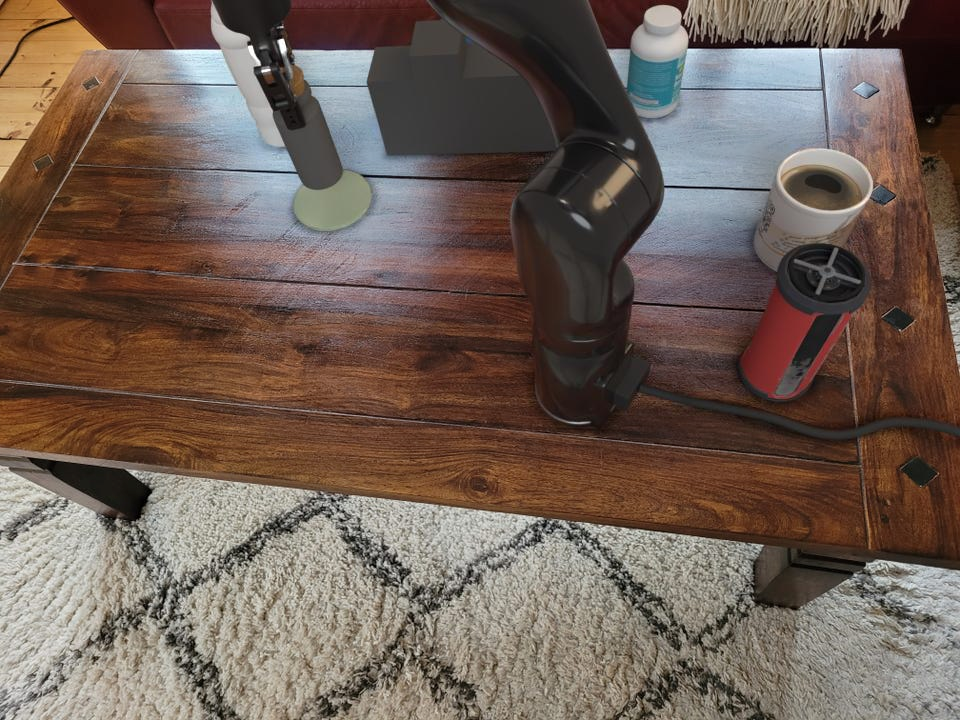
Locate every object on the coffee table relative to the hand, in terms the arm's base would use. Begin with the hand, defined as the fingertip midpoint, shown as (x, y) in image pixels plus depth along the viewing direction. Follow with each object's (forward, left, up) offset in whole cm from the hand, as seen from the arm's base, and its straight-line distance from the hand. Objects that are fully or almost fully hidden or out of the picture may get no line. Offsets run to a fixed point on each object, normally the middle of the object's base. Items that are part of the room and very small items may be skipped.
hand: (296, 109), depth 82 cm
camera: (-8, -24, -16) cm, 30 cm away
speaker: (-61, -5, -16) cm, 63 cm away
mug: (-56, -24, -16) cm, 63 cm away
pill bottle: (-29, -38, -16) cm, 50 cm away
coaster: (0, 0, -16) cm, 16 cm away
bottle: (0, 0, -11) cm, 11 cm away
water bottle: (+16, -7, -16) cm, 24 cm away
